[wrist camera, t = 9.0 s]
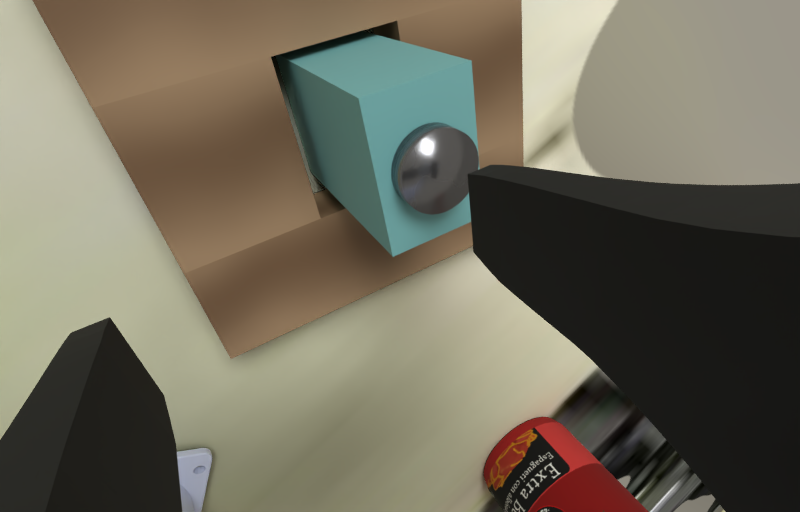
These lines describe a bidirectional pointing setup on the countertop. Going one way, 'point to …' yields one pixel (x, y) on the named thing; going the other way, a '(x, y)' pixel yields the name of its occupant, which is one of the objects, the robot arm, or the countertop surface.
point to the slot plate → (266, 139)
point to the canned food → (552, 473)
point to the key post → (387, 132)
